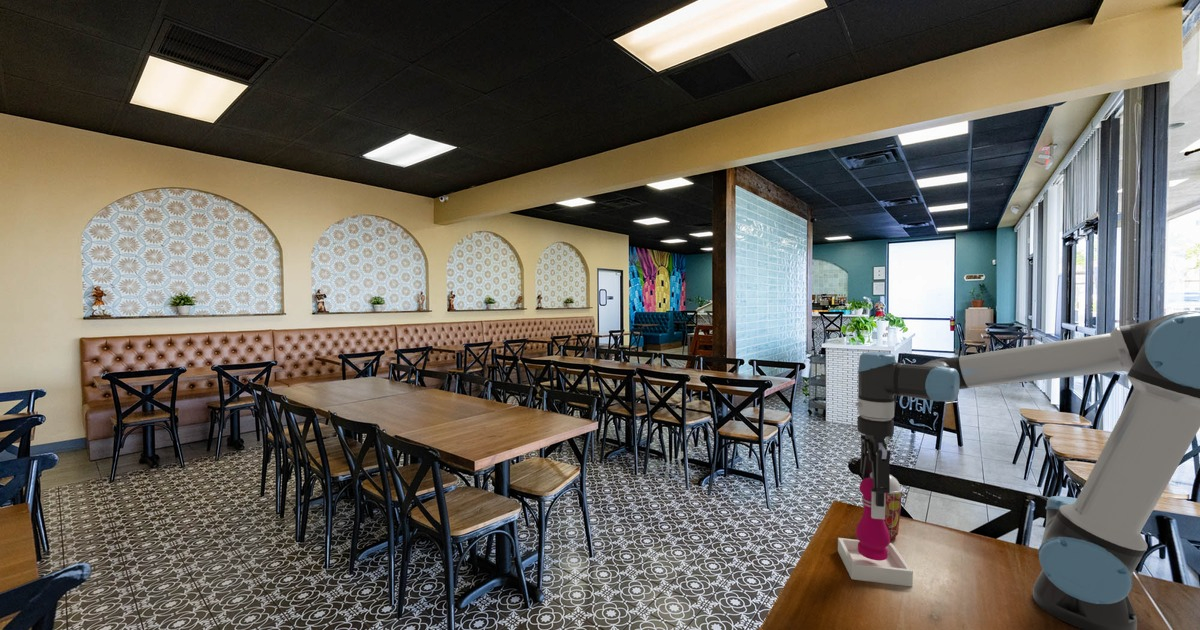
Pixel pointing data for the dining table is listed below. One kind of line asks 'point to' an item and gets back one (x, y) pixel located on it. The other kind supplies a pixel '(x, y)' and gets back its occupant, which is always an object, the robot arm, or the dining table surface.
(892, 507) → the smoothie
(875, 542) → the pepper mill
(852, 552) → the tray
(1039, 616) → the dining table surface
